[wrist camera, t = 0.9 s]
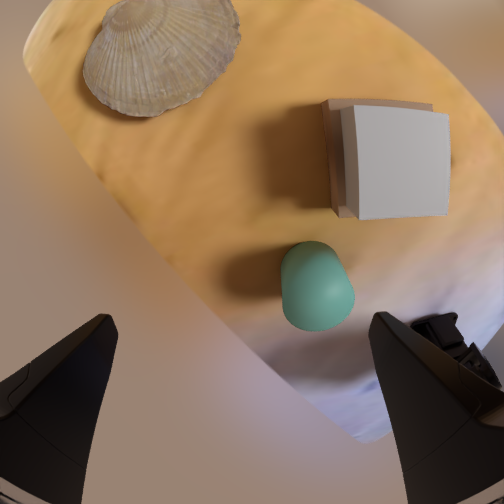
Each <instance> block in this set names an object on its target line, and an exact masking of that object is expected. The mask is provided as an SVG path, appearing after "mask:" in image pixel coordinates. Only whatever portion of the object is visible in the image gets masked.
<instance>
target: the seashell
mask: <svg viewBox="0 0 504 504" xmlns="http://www.w3.org/2000/svg"><path fill="white" fill-rule="evenodd" d="M239 26H240V21H239V17H238V14H237V12H236V11H235V10H234V8H233V6H232V3H231V1H230V0H123V1H120V2H118V3H116V4H115V5H113V6H112V7H110V8H109V9H108V10H107V11H106V15H105V16H104V18H103V21H102V31H101V32H100V33H99V34H98V35H97V37H96V38H95V39H94V41H93V42H92V44H91V46H90V47H89V49H88V52H87V54H86V57H85V63H84V64H83V76H84V79H85V83H86V84H87V86H88V88H89V89H90V91H91V92H92V93H93V95H95V97H96V98H97V99H98V100H99V101H100V102H101V103H102V104H104V105H106V106H108V107H109V108H110V109H113V110H117V111H118V112H119V113H121V114H126V115H128V116H137V117H142V116H145V117H156V116H159V115H160V114H162V113H163V112H164V111H165V110H168V109H173V108H175V107H177V106H179V105H181V104H186V103H187V102H189V101H190V100H191V99H195V98H198V97H200V96H201V95H202V93H203V92H204V90H205V89H206V88H207V87H208V86H210V85H211V84H212V83H213V82H214V81H215V80H216V79H217V78H218V77H219V76H220V75H221V74H222V73H224V72H225V71H226V67H227V65H228V64H229V63H230V62H232V61H233V58H234V54H235V49H236V48H237V45H238V44H239V43H240V40H241V34H240V33H239Z"/></svg>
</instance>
